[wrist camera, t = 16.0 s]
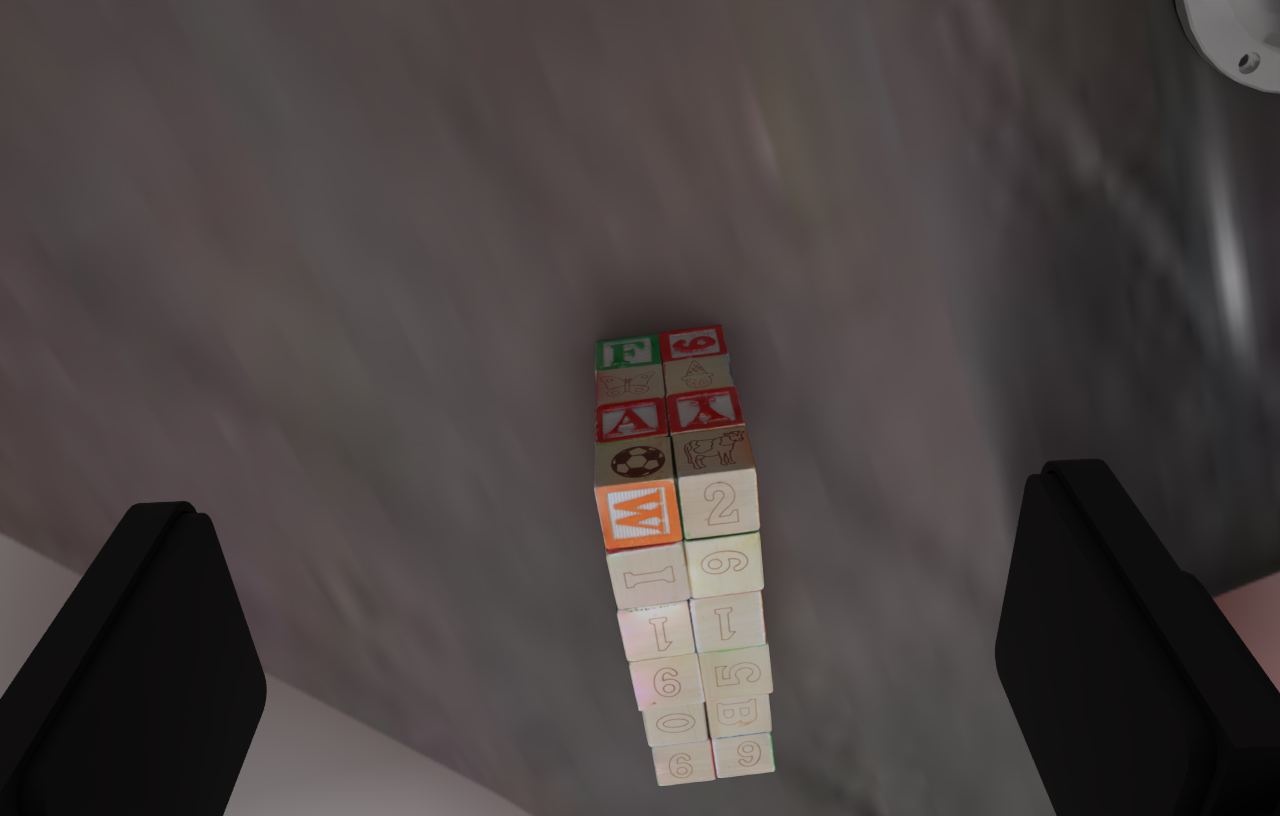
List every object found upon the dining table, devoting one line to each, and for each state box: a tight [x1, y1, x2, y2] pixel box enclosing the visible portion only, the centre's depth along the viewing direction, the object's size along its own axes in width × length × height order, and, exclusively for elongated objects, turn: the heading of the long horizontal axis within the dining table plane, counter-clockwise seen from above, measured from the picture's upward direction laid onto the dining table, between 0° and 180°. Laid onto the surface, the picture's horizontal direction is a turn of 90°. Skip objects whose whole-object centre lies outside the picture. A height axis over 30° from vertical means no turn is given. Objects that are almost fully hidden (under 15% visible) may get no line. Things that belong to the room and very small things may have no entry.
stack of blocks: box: [594, 325, 775, 786], centre depth 49 cm, size 21×6×12 cm, turn 7°
